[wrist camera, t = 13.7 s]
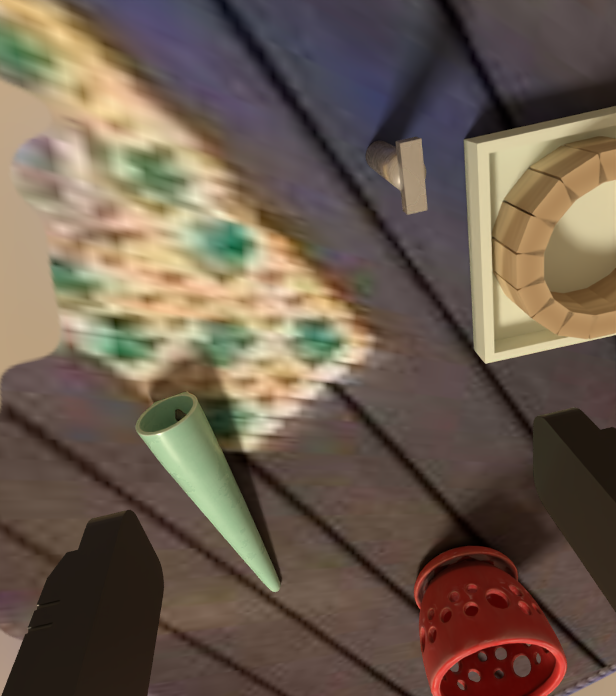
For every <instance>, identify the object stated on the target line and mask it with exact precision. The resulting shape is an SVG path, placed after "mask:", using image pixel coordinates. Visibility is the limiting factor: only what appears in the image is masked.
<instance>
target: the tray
mask: <svg viewBox="0 0 616 696" xmlns="http://www.w3.org/2000/svg"><path fill="white" fill-rule="evenodd" d="M597 136H604V137H610V138H615V139H616V106H614V107H609V108H604V109H600V110H595V111H591V112H586V113H582V114H577V115H573V116H568V117H564V118H559V119H555V120H550V121H546V122H541V123H537V124H532V125H528V126H523V127H519V128H514V129H510V130H505V131H501V132H496V133H492V134H487V135H483V136H478V137H474V138H469V139H464V154H465V174H466V194H467V215H468V235H469V256H470V276H471V297H472V317H473V338H474V350H475V351H476V353H477V354H478V355H479V356H480V358H481V359H482V360H483V361H484V363H485V364H486V363H490V362H495V361H499V360H504V359H509V358H513V357H518V356H522V355H527V354H531V353H536V352H540V351H545V350H549V349H554V348H558V347H563V346H567V345H572V344H576V343H581V342H586V341H590V340H595V339H599V338H604V337H608V336H613V335H616V333H615V334H610V335H606V336H602V337H597V338H593V339H589V338H588V339H581V338H574V337H567V336H560V335H557V334H554V333H553V332H551V331H550V330H548V329H547V328H545V327H544V326H542V325H541V324H539V323H538V322H536V321H535V320H533V319H532V318H531V317H530V316H528V315H527V314H526V313H525V312H524V311H523V310H522V309H520V308H519V307H518V306H517V305H516V304H515V303H514V302H512V301H511V300H510V299H509V298H508V297H507V296H506V295H505V294H504V292H503V290H502V288H501V286H500V284H499V282H498V281H497V279H496V277H495V275H494V273H493V271H492V270H493V269H492V244H491V237H493V236H491V233H492V230H493V227H494V224H495V221H496V218H497V216H498V213H499V210H500V207H501V204H502V202H507V201H505V200H504V198H505V197H506V196H507V194H508V193H509V192H510V190H511V189H512V188H513V187H514V185H515V184H516V183H517V181H518V180H519V179H520V178H521V176H522V175H523V174H524V172H525V171H526V170H527V169H529V170H530V166H531V165H533V164H534V163H536V162H537V161H539V160H540V159H542V158H543V157H545V156H546V155H548V154H549V153H551V152H552V151H554V150H555V149H557V148H558V147H560V146H561V145H562V146H564V144H567V143H572V142H576V141H580V140H584V139H589V138H593V137H597ZM507 203H508V202H507ZM615 268H616V180H613V181H608V182H604V183H602V184H600V185H599V186H597V187H596V188H594V189H593V190H591V191H590V192H588V193H586V194H585V195H583V196H582V197H580V198H579V199H577V200H576V201H575V202H574V203H573V204H572V206H571V207H570V208H569V209H568V210H567V212H566V213H565V214H564V215H563V216H562V218H561V219H560V220H559V221H558V222H557V224H556V225H555V227H554V229H553V232H552V234H551V237H550V239H549V242H548V244H547V247H546V249H545V252H544V280H545V282H546V284H547V286H548V288H549V291H551V292H558V293H568V292H572V291H576V290H581V289H585V288H588V287H590V286H591V285H593V284H595V283H596V282H598V281H600V280H601V279H603V278H604V277H606V276H608V275H609V274H610V273H611V272H612V271H613V270H614V269H615Z"/></svg>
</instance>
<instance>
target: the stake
mask: <svg viewBox="0 0 616 696" xmlns="http://www.w3.org/2000/svg"><path fill="white" fill-rule="evenodd" d="M395 142H396V147H395V146H393V145H391V144H389V143H387V142H385V141H375V142H373V143H372V144H371V145H370V146H369V147H368V149H367V151H366V162H367V164H368V165H369V166H370V167H371V168H372V169H373V170H375V171H376V172H377V173H378V174H380V175H381V176H382V177H384V178H385V179H386V180H387V181H389V182H390V183H391V184H392V185H394V186H395V187H396V188H398V189H399V190H400V191H401V197H402V207H403V211H404V212H405V213H406V214H407V215H408V214H412V213H417V212H421V211H426V210H427V200H426V188H425V177H426V168H425V165H424V163H423V153H422V141H421V138H418V137H412V138H408V139H403V140H399V141H395Z"/></svg>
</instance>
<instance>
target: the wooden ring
mask: <svg viewBox="0 0 616 696" xmlns="http://www.w3.org/2000/svg"><path fill="white" fill-rule="evenodd" d="M613 180H616V139H615V138H610V137H604V136H597V137H593V138H589V139H584V140H580V141H576V142H572V143H567V144H564V146H562V145H561V146H560V147H558V148H557V149H555V150H554V151H552V152H551V153H549V154H548V155H546V156H545V157H543V158H542V159H540V160H539V161H537V162H536V163H534V164H533V165H531V166H530V170H529V169H527V170H526V171H525V172H524V174H523V175H522V176H521V178H520V179H519V180H518V181H517V183H516V184H515V185H514V187H513V188H512V189H511V190H510V192H509V193H508V194H507V196H506V197H505V198H504V200H505V201H507V202H508V203H507V202H502V204H501V207H500V210H499V213H498V216H497V218H496V221H495V224H494V227H493V230H492V233H491V236H493V237H491V244H492V269H493V270H492V271H493V273H494V275H495V277H496V279H497V281H498V282H499V284H500V286H501V288H502V290H503V292H504V294H505V295H506V296H507V297H508V298H509V299H510V300H511V301H512V302H514V303H515V304H516V305H517V306H518V307H519V308H520V309H522V310H523V311H524V312H525V313H526V314H527V315H528V316H530V317H531V318H532V319H533V320H535V321H536V322H538V323H539V324H541V325H542V326H544V327H545V328H547V329H548V330H550V331H551V332H553V333H554V334H557V335H560V336H567V337H574V338H581V339H588V338H589V339H593V338H597V337H602V336H606V335H610V334H615V333H616V268H615V269H614V270H613V271H612V272H611V273H610V274H609V275H608V276H606V277H604V278H603V279H601V280H600V281H598V282H596V283H595V284H593V285H591V286H590V287H588V288H585V289H581V290H576V291H572V292H568V293H558V292H551V291H549V288H548V286H547V284H546V282H545V280H544V252H545V249H546V247H547V244H548V242H549V239H550V237H551V234H552V232H553V229H554V227H555V225H556V224H557V222H558V221H559V220H560V219H561V218H562V216H563V215H564V214H565V213H566V212H567V210H568V209H569V208H570V207H571V206H572V204H573V203H574V202H575V201H576V200H577V199H579V198H580V197H582V196H583V195H585V194H586V193H588V192H590V191H591V190H593V189H594V188H596V187H597V186H599V185H600V184H602V183H604V182H608V181H613Z"/></svg>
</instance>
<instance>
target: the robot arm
mask: <svg viewBox="0 0 616 696" xmlns="http://www.w3.org/2000/svg"><path fill="white" fill-rule="evenodd" d="M533 476H534V482H535V486H536V490H537V493H538V495H539V497H540V500H541V502H542V504H543V505H544V507H545V509H546V510H547V511H548V513H549V514H550V516H551V517H552V519H553V520H554V522H555V523H556V525H557V526H558V528H559V529H560V531H561V532H562V534H563V535H564V537H565V538H566V540H567V541H568V542H569V544H570V545H571V547H572V548H573V550H574V551H575V553H576V554H577V556H578V557H579V559H580V560H581V562H582V563H583V565H584V566H585V568H586V569H587V571H588V572H589V573H590V575H591V576H592V578H593V579H594V581H595V582H596V584H597V585H598V587H599V588H600V590H601V591H602V593H603V594H604V596H605V597H606V599H607V600H608V602H609V603H610V604H611V606H612V607H613V609H614V610H615V612H616V428H614V427H611V428H606V429H602V430H600V429H599V428H598V427H597V426H596V425H595V424H594V423H593V422H592V421H591V420H590V419H589V418H588V417H587V416H586V415H585V414H584V413H583V412H582V411H581V410H580V409H578V408H570V409H566V410H561V411H557V412H553V413H549V414H544V415H540V416H537V417H536V418H535V419H534V423H533ZM163 591H164V580H163V572H162V567H161V564H160V561H159V559H158V557H157V555H156V553H155V551H154V549H153V547H152V545H151V543H150V541H149V539H148V537H147V535H146V533H145V531H144V530H143V528H142V526H141V524H140V522H139V520H138V518H137V516H136V514H135V513H134V512H133V511H131V510H126V511H122V512H118V513H114V514H109V515H105V516H101V517H96V518H93V519H91V520H90V521H89V522H88V523H87V526H86V528H85V531H84V534H83V537H82V540H81V543H80V545H79V548H78V550H75V551H71V552H67V553H66V554H65V556H64V557H63V558H62V559H61V561H60V562H59V563H58V565H57V566H56V567H55V569H54V570H53V571H52V573H51V574H50V575H49V576H48V578H47V580H46V583H45V585H44V588H43V590H42V593H41V595H40V598H39V601H38V603H37V610H36V611H34V613H33V616H32V619H31V621H30V624H29V626H28V634H25V636H24V639H23V642H22V644H21V647H20V650H19V652H18V655H17V657H16V660H15V662H14V665H13V667H12V670H11V673H10V675H9V678H8V680H7V683H6V685H5V688H4V690H3V693H2V696H147V694H148V687H149V681H150V675H151V668H152V662H153V656H154V649H155V643H156V637H157V630H158V624H159V618H160V611H161V605H162V599H163Z"/></svg>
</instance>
